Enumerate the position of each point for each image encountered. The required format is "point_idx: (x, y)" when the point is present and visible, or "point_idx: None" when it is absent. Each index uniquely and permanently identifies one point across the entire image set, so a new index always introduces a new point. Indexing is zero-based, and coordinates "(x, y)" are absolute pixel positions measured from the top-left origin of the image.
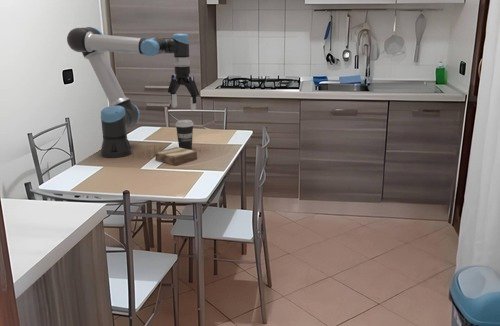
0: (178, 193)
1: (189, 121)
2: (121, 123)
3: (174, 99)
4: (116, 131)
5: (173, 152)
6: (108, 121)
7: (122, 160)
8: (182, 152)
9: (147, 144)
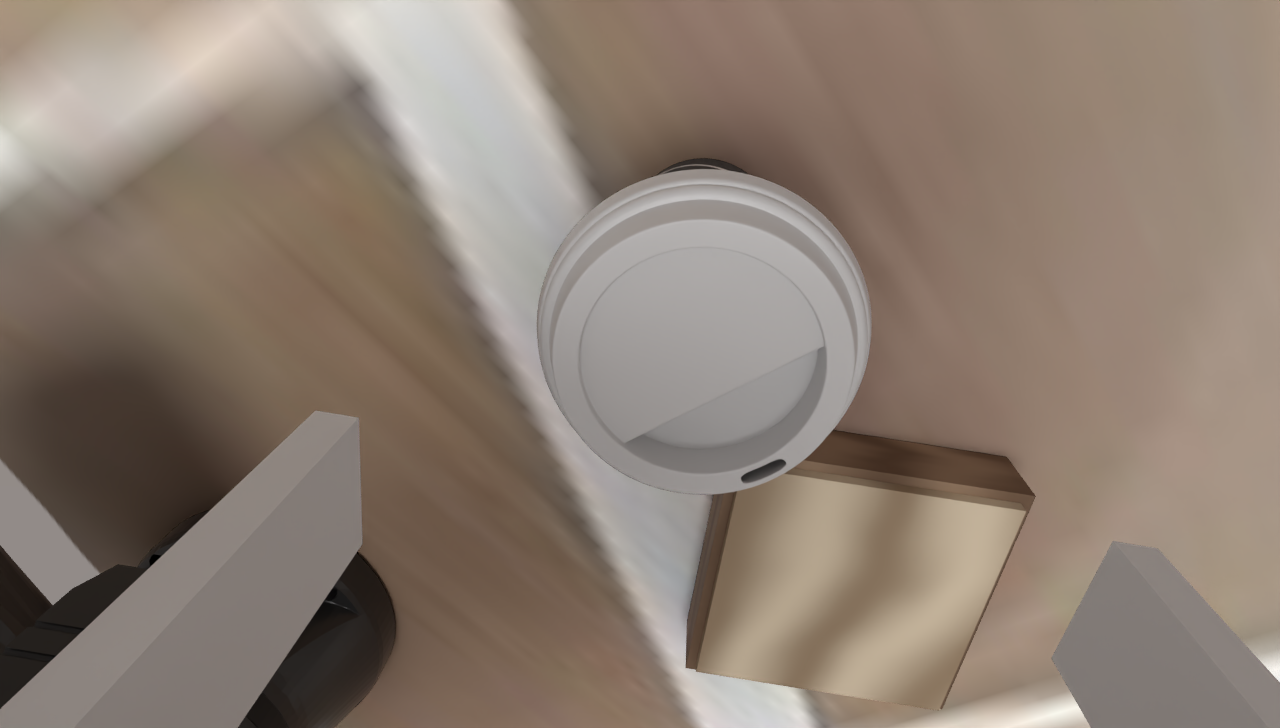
0: None
1: (776, 299)
2: None
3: (228, 672)
4: None
5: (841, 624)
6: None
7: (468, 702)
8: (925, 596)
9: (196, 259)
